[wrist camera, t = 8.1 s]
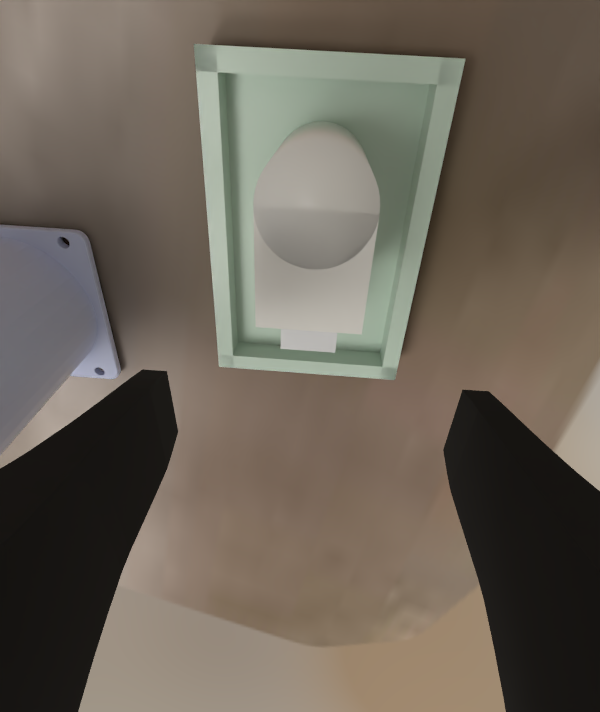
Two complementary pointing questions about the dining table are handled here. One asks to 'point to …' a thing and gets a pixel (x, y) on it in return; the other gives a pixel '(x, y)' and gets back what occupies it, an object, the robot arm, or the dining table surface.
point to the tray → (385, 156)
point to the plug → (314, 237)
